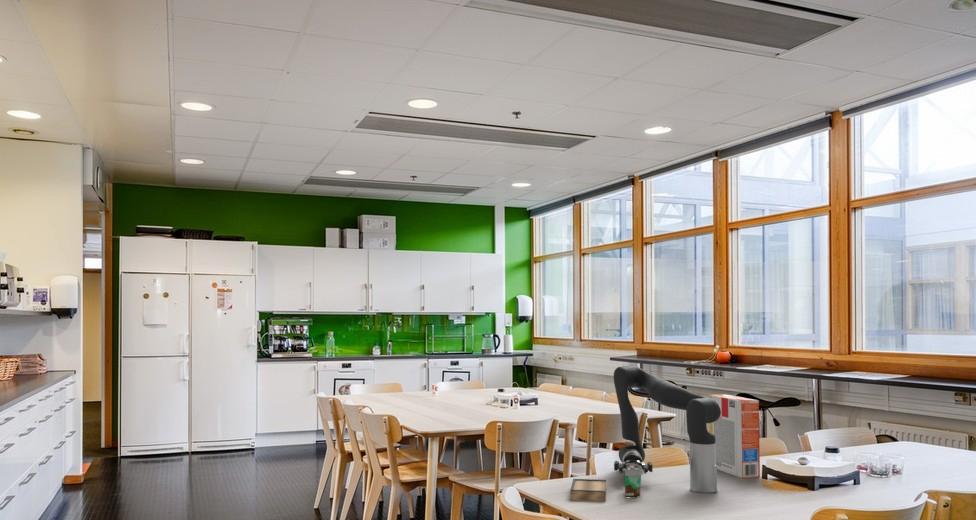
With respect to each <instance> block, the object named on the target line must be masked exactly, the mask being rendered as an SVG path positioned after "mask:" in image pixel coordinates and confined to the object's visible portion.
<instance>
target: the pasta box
mask: <svg viewBox="0 0 976 520" xmlns="http://www.w3.org/2000/svg"><path fill="white" fill-rule="evenodd" d="M708 398H711V399H713V400H714V401H716V402H717V403H718V405H719V407H720V409H721V415H720V417H719V419H718V420H717V421H715V422H712V423H708V428H709V429H708V432H709V433H711V434H713V435H715V439H716V465H717V471H721V472H724V473H727V474H730V475H733V476H735V477H738V478H741V479H749V478H760V477H761V463H760V461H761V460H760V459H761V457H760V456H761V455H760V452H761V450H760V407H759V405H760V400H758V399H752V398H747V397H742V396H737V395H730V394H721V393H719V394H708Z"/></svg>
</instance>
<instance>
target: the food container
mask: <svg viewBox="0 0 976 520" xmlns="http://www.w3.org/2000/svg"><path fill="white" fill-rule="evenodd" d="M643 474H644V472H643V470H642V468H641V466H640V465H636V464H630V463H626V469H625V471H624V484H625V485H624V488H625V489H624V494H625V496H624V498H625V497H635V498H638V496H639V497H640V496H641V484H642V483H641V481H642V475H643Z"/></svg>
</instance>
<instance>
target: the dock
mask: <svg viewBox="0 0 976 520" xmlns="http://www.w3.org/2000/svg"><path fill="white" fill-rule="evenodd" d="M606 498H607V479H592V478H590V479H589V478H573V479H572V482H571V486H570V501H589V502H591V501H593V502H606V501H607V499H606Z"/></svg>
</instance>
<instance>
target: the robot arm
mask: <svg viewBox="0 0 976 520" xmlns="http://www.w3.org/2000/svg"><path fill="white" fill-rule="evenodd" d="M613 384H614V388H615V393H616V394H615V395H616V399H617V404H618V407H619V408H618V409H619V413H620V422H621V436H622V439H623V440H627V441H631V442H633V443H634V445H632V444H631V445H622V446H620V447H619V450H618V457H619V460H620V462H619V461H618V460H615V461H614V463H613V471H618V472H620V473H621V474H622V473H623V472H625V469H626V463H630V464H636V465H640V466H641V468H642V470H643V474H647V473H649V472H650V473H653V467H654V466H653V463H652V462H651V461H647V463H645V462H644V461H645V458H646V453H645V449H644V446H643V444H642V441H641V440H642V439H641V437H640V424H639V416H638V415H637V413H636V411H635V409H634V407H633V405H632V403H631V401H630V398H629V389H633V388H634V389H637V388H638V389H641V390H643V391H646V392H647V393H648V396H649V397H650V398H651V400H653V401H654V402H656V403H658V404H660V405H662V406H664V407H667V408H671V409H676V410H683V411H686V412H685V413H686V414H685V416H686V430H687V431H686V432H687V435H688V438H689V489H690V491H692V492H695V493H703V494H704V493H706V494H708V493H709V494H710V493H718V469H717V465H716V439H715V435H713V434H711V433H709V430H708V428H707V425H708V424H709V423H712V422H715V421H717V420H718V419H719V417H720V415H721V409H720V407H719V405H718V403H717V402H716V401H714V400H713V399H711V398H709V396H703V395H700V394H697V393H694V392H691V391H690V390H687V389H685V388H683V387H681V386H678V385H676V384H675V383H672V382H670V381H668V380H666V379H662V378H661V377H658V376H655V375H653V374H651V373H649V372H647V371H646V370H644V369H642V368H641V367H639V366H637V365H623V366H622V365H621V366H618V367H616V368H615V369H614V372H613Z"/></svg>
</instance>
